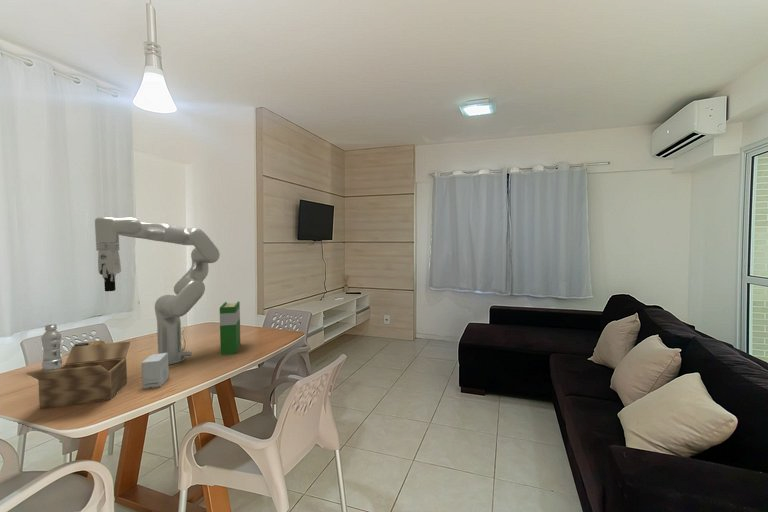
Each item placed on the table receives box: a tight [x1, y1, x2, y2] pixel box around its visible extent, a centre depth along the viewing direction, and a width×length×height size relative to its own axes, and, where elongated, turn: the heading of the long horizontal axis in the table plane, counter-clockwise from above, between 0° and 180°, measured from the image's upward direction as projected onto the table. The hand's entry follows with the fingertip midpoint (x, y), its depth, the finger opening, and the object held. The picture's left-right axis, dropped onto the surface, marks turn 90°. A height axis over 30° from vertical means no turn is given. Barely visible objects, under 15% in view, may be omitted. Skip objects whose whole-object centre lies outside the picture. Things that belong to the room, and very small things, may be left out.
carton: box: [37, 357, 128, 410], centre depth 127 cm, size 20×16×10 cm
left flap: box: [26, 365, 109, 380], centre depth 116 cm, size 19×8×1 cm
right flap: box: [64, 341, 131, 364], centre depth 137 cm, size 19×8×1 cm
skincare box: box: [141, 353, 170, 389], centre depth 138 cm, size 10×6×10 cm, turn 16°
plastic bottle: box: [40, 324, 63, 371], centre depth 153 cm, size 6×7×20 cm
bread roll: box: [87, 339, 106, 345], centre depth 171 cm, size 10×15×8 cm, turn 28°
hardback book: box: [219, 301, 241, 356], centre depth 181 cm, size 18×7×24 cm, turn 17°
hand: (110, 290), depth 144 cm, fingers closed
